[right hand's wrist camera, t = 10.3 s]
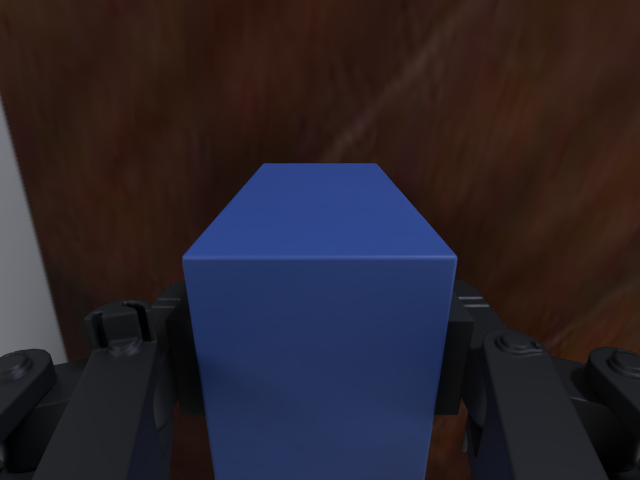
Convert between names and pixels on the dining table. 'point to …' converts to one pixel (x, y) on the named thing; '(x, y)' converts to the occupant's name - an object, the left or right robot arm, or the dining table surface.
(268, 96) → the dining table surface
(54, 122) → the dining table surface
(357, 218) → the brick
